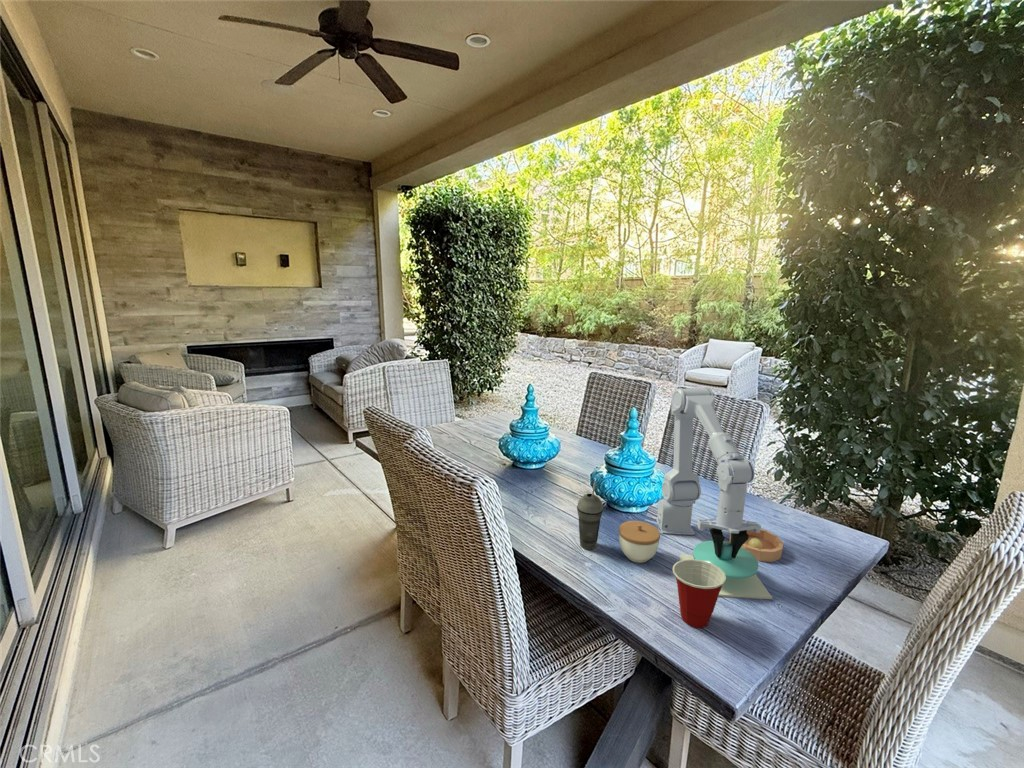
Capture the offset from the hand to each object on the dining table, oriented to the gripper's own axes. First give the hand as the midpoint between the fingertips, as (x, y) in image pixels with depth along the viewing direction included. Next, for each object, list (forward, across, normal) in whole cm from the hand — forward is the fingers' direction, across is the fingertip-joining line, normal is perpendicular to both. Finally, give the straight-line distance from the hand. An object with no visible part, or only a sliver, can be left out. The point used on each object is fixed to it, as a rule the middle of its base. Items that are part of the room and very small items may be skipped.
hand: (724, 555), depth 115 cm
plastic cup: (+6, -12, -16) cm, 21 cm away
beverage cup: (+6, -33, +11) cm, 35 cm away
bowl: (+6, +14, +14) cm, 21 cm away
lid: (+1, 0, 0) cm, 1 cm away
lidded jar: (+6, -20, +7) cm, 22 cm away
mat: (+6, 0, 0) cm, 6 cm away
